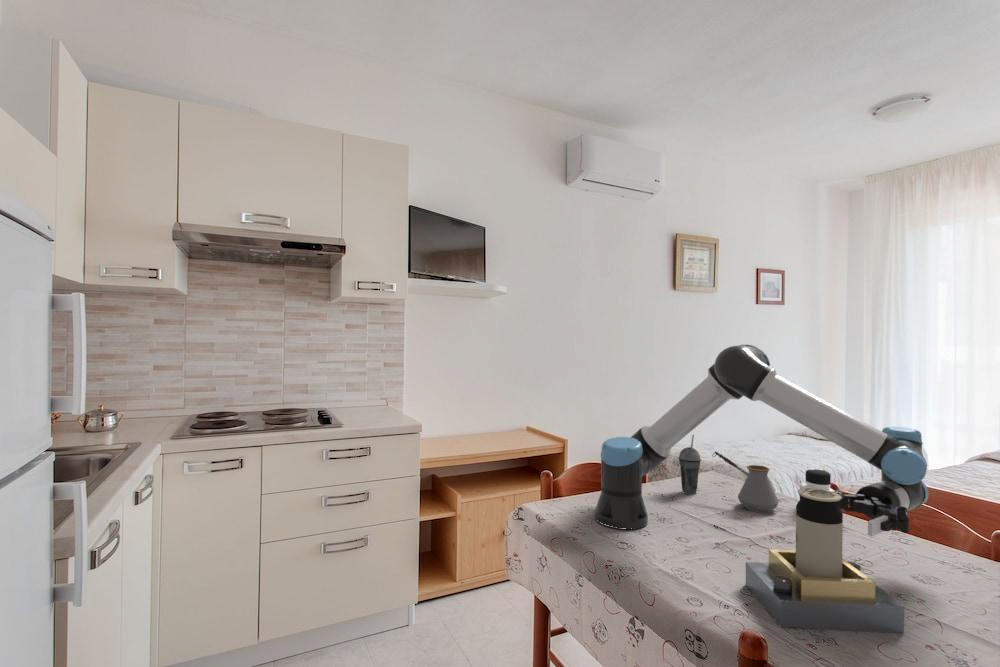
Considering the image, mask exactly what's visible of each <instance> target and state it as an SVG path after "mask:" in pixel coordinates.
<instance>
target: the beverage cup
mask: <svg viewBox="0 0 1000 667" xmlns="http://www.w3.org/2000/svg"><path fill="white" fill-rule="evenodd" d="M691 436H692V437H691V444H690V447H689V446H687V447H685V448H683V449H681V451H680V453H679V456H678V461H679V467H680V478H681V489H682V493H683V492H684V493H683V494H685V493H687V494H686V495H689V494H695V495H697V491H698V490H697V489H698V482H699V472H700V466H701V461H702V460H701V454H700V453H699V451H698V450H696V449H695V448H693V444H694V438H695V434H692V435H691Z"/></svg>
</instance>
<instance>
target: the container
mask: <svg viewBox="0 0 1000 667" xmlns="http://www.w3.org/2000/svg"><path fill="white" fill-rule="evenodd" d="M831 477H832V476H831V473H830V472H828V471H826V470H823V469H819V468H809V469H806V470H805V483H802V482H800V483H799V489H801V488H816V489H823V490H828V491H831V492H833V491H835V490H834V489H833V488H831V479H832V478H831Z"/></svg>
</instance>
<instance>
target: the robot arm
mask: <svg viewBox="0 0 1000 667" xmlns="http://www.w3.org/2000/svg"><path fill="white" fill-rule="evenodd" d="M743 397H745V398H747V399H748V400H750V401H752V402H757V401H760V402H762V403H764V404H765V405H767V406H769V407H771V408H773V409H775V410H776V411H778V412H779V413H781V414H783V415H785V416H786V417H788V418H790V419H792V420H794V421H795V422H796V423H799V424H800V425H802V426H804V427H806V428H807V429H809V430H811V431H813V432H814V433H816V434H818V435H820V436H821V437H824V438H825V439H826V440H828V441H830V442H832V443H834V444H835V445H837V446H838V447H840V448H842V449H844V450H846V451H848V452H850V453H851V454H853V455H855V456H857V457H859V458H860V459H862V460H864V461H865V462H867V463H868V464H870V465H871V466H872V467H874V468H877V469H878V470H880V471H881V474H880V476H881V480H880V481H878V482H874V483H870V484H868V485H865V486H863V487H860V488H859V489H858V491H857V492H856V493H855V494H846V493H845V494H844V492H843V491H842V490H834V491H833V492H834V493H837V494H839V495H840V496H841V500H840V501H839V508H840V509H842V510H844V511H845V512H851V513H852V512H853V513H858V514H863V515H864V516H866V517H868V518H869V519H870V520H868V521H867V535H868V536H870V537H874V536H876V535H879V534H881V533H883V532H891V531H897V530H900V532H901V533H903V534H909V533H910V520H909V517H908V512H909V511H913V510H916V509H918V508H920V507H921V506H922V505H924V504H925V503H926V502H927V501H928V499H929V489H928V487H927V486H926V484H925V483H924V481H923V479H924V478H925V477H926V475H927V470H928V462H927V460H926V458H925V457H924V454H923V444H924V443H923V441H922V440H923V439H922V432H921V431H920V430H917V428H911V427H905V426H904V427H903V426H885V427H883V428H882V430H880V429H878V428H876V427H874V426H872V425H871V424H869V423H867V422H865V421H863V420H862V419H859V418H858V417H856V416H854V415H852V414H850V413H849V412H847V411H845V410H843V409H841V408H839V407H837V406H835V405H834V404H832V403H830V402H828V401H826V400H825V399H823V398H820V397H818V396H817V395H816V394H813V393H811V392H809V391H808V390H806V389H804V388H802V387H800V386H798V385H797V384H794V383H792V382H791V381H790V380H787V379H786V378H784V377H781V376H780V375H778V374H777V371H776V368H774V367H772V366H771V362H770V359H769V357H768V356H767V354H766V353H765V352H764V351H763V350H762V349H761V348H760V347H757V346H755V345H752V344H740V345H732V346H728V347H726V348H724V349H723V350H722V351H721V352H719V353H718V355H717V356H716V357H715V361H714V363H713V364H712V365H711V366H710V367H709V368H708V369H707V377H706V378H705V379H703V380H702V381H701V382H700V383H698V384H697V386H695V387H694V388H693V389H692V390H691V391H690V392H688V393H687V394H686V395H685V396H684V397H683V398H681V399H680V400H679V401H678V402H677V403H676V404H674V406H672V407H671V408H670V409H669V410H667V411H666V412H665V413H664V414H663V415H662V416H661V417H660V418H659V419H658V420H656V421H655V422H654V423H653V424H652V425H651V426H649V425H643V426H642V427H640V428H639V429H638V430H637V431H636V432H634V433H633V434H632V435H631V436H616V437H610V438H607V439H605V441H604V442H603V443H602V445H601V452H600V463H601V464H600V467H601V469H600V475H601V477H600V484H601V485H600V486H601V487H600V488H601V489H600V494H599V497H598V500H597V504H596V506H595V511H594V519H595V518H596V519H597V520H598V521H599V522H601V523H603V524H606V525H609V526H613V527H617V528H626V529H631V528H632V529H633V530H635V529H634V528H639V529H642V528H641V527H643V528H645V527H646V526H647V525H648V524H649V518H648V517H649V516H648V512H647V508H646V505H645V503H644V502H645V501H644V499H643V498H644V497H643V495H642V494H643V492H642V490H643V481H642V480H643V477H644V476H645V475H647V474H649V473H651V472H653V471H655V470H656V469H658V468H659V466H660V465H661V464H662V463H663V462H664V461H665V460H667V459H668V458H669V457H670V456H671V453H672V452H671V449H672V448H673V447H674V446H675V445H676V444H678V443H679V442H680V441H681V440H683V439H684V438H685V437H686V436H688V435H689V434H690V433H691V432H692V431H693V430H694V429H696V428H697V427H698V426H700V425H701V424H702V423H703V422H705V421H706V420H707V419H708V418H709V417H710V416H711V415H713V414H714V413H715V412H716V411H718V410H719V409H720V408H721V407H723V406H724V405H725V404H726V403H727V402H729V401H730V400H736V401H737V400H740V399H742V398H743ZM799 501H800V499H799V500H797V504H798V502H799ZM797 504H796V505H797ZM647 523H648V524H647ZM645 525H646V526H645ZM644 526H645V527H644Z"/></svg>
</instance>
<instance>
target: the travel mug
mask: <svg viewBox="0 0 1000 667" xmlns="http://www.w3.org/2000/svg"><path fill="white" fill-rule="evenodd" d="M797 493H798V495H799V500H800V501H799V500H798V501H799V502H798V504H796V505H795V506H796V507H795V550H796V570H797V571H799V572H800V573H801V574H802V575H803V576H804V577H817V578H842V558H843V529H844V528H843V525H844V523H843V519H844V518H843V515H844V514H843V511H842V510H841V509H840V508H839V501H840V500H841V496H840V495H839V494H837V493H834V492H831V491H828V490H823V489H816V488H801V489H800V488H799V489H798V490H797Z"/></svg>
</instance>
